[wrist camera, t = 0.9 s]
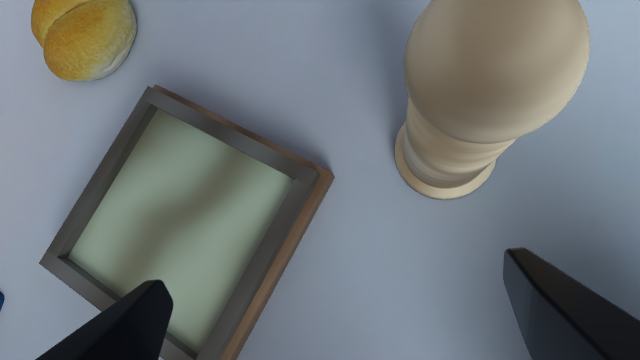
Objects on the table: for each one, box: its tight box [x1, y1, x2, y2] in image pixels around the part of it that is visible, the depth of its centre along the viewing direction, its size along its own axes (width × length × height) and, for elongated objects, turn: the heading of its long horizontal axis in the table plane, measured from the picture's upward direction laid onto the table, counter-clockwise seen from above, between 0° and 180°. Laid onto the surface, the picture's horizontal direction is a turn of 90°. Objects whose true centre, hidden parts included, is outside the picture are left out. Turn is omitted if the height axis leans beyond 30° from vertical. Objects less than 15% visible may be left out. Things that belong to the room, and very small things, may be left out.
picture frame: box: [39, 84, 335, 360], centre depth 24 cm, size 15×15×2 cm
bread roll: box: [31, 0, 137, 81], centre depth 29 cm, size 8×9×4 cm
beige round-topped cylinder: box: [395, 0, 590, 200], centre depth 16 cm, size 6×6×14 cm
